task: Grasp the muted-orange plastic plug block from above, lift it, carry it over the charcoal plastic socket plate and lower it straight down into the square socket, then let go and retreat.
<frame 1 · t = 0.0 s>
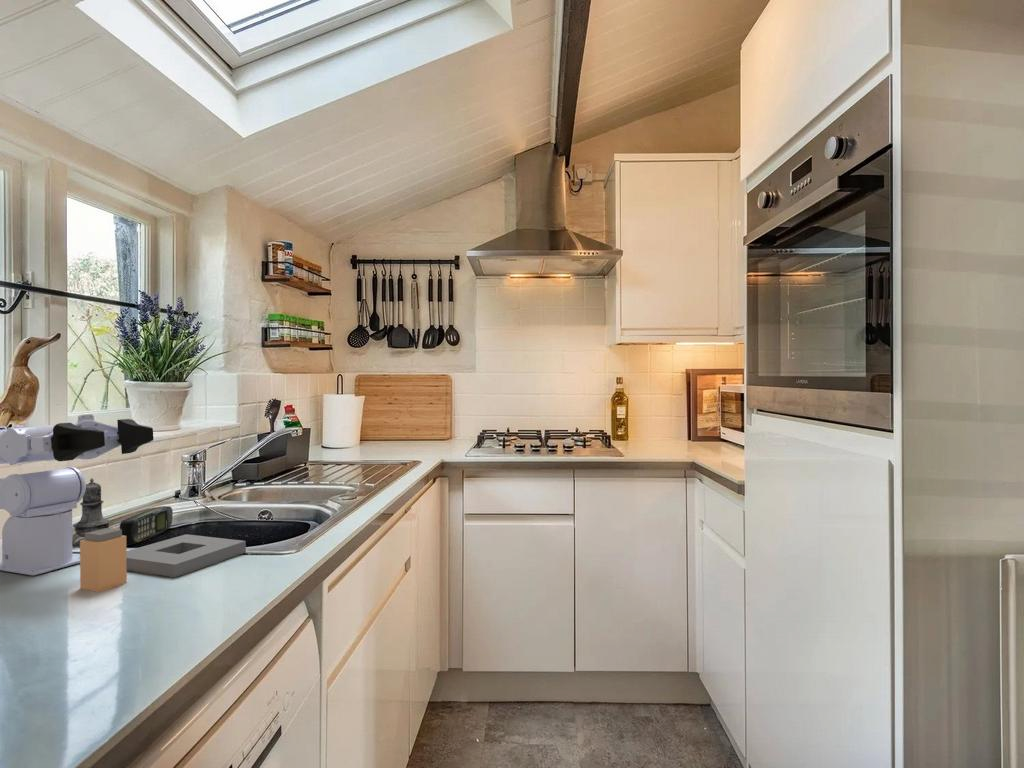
hand: (127, 436, 88), 22 cm above the counter, tool horizontal, fingers open, 7 cm apart
plug: (103, 585, 85), on the counter
salt shaker: (92, 542, 109), on the counter
mobile phone: (149, 536, 114), on the counter
socket plate: (181, 559, 98), on the counter
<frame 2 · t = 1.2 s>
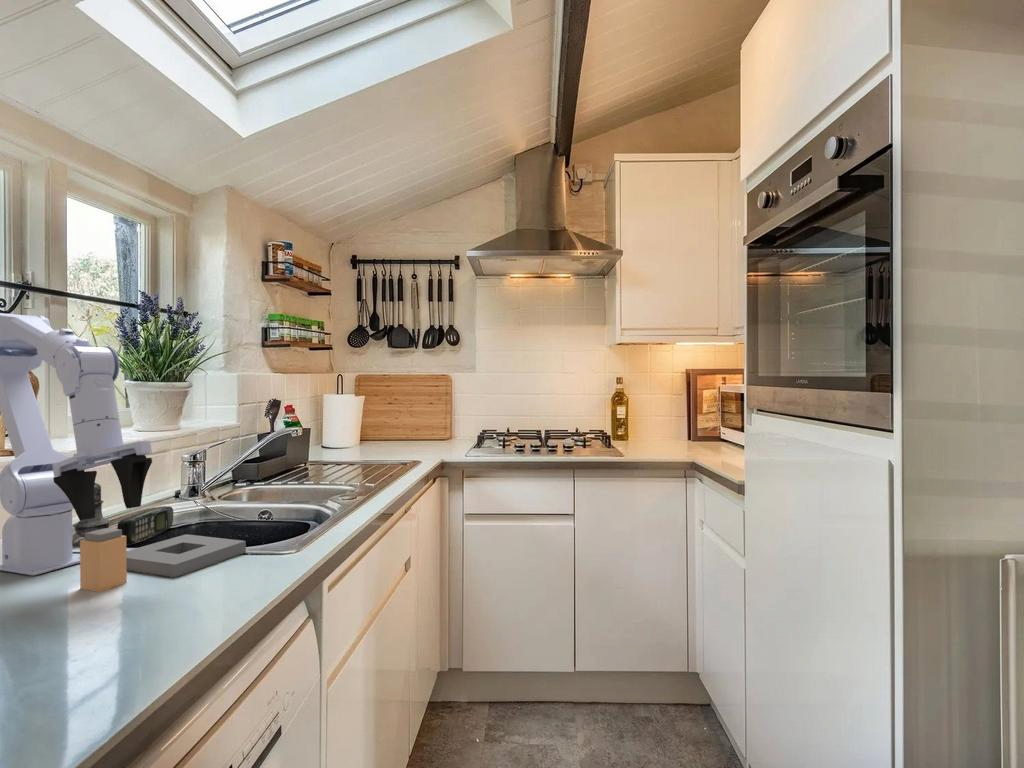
hand: (110, 513, 85), 11 cm above the counter, tool tilted 15°, fingers open, 7 cm apart
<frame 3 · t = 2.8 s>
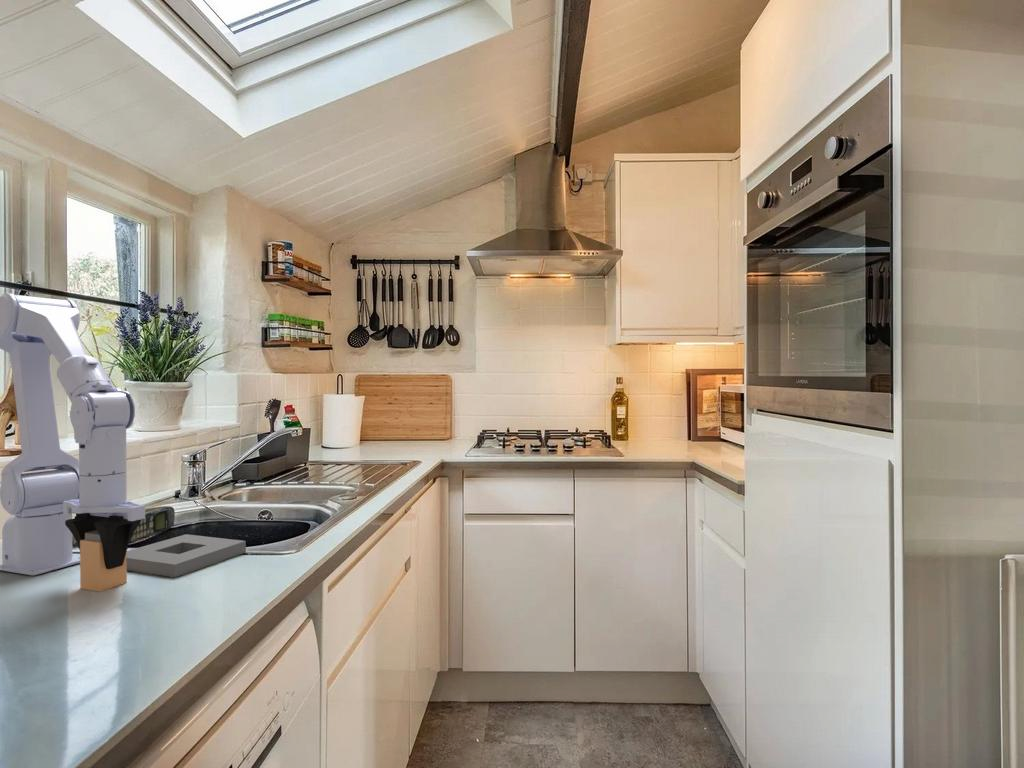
hand: (103, 565, 85), 3 cm above the counter, tool pointing down, fingers closed on plug, 4 cm apart
plug: (103, 585, 85), on the counter, touching gripper
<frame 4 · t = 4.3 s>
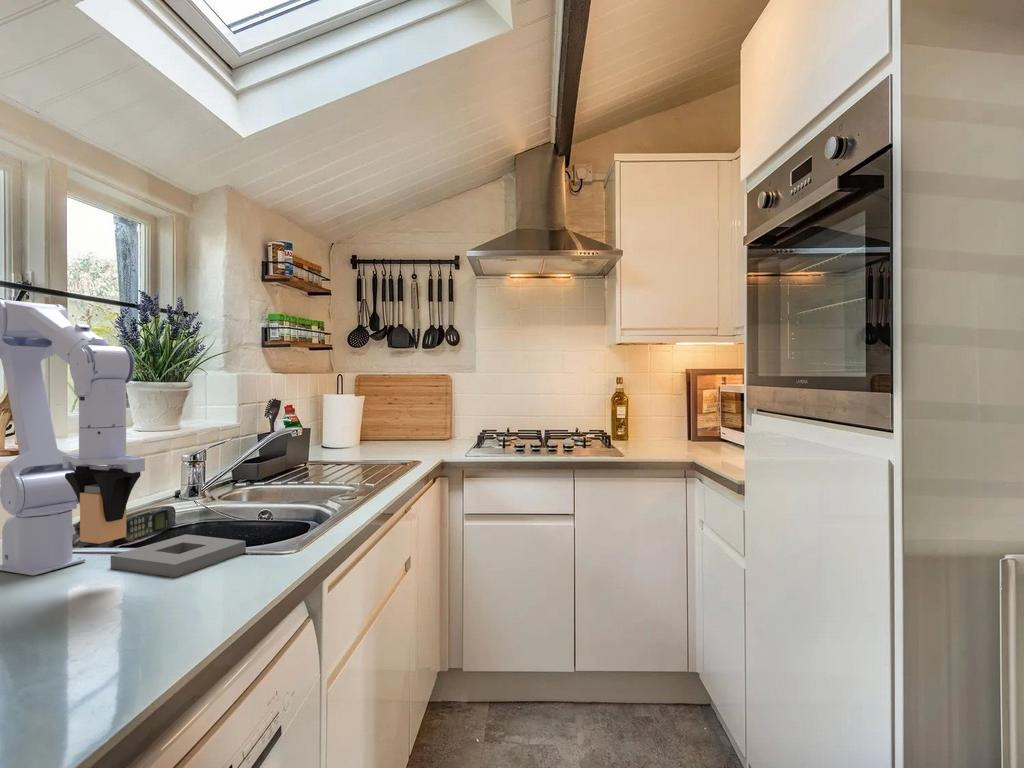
hand: (103, 519, 85), 10 cm above the counter, tool pointing down, fingers closed on plug, 4 cm apart
plug: (103, 539, 85), point 7 cm above the counter, touching gripper
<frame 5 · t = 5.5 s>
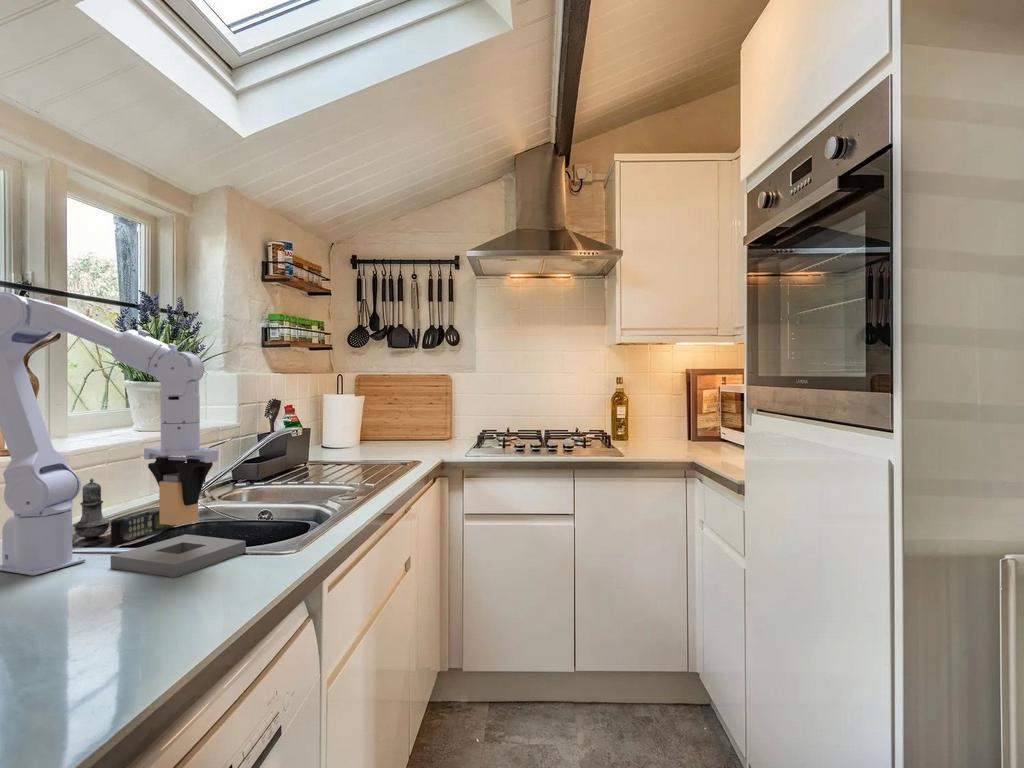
hand: (180, 503, 98), 9 cm above the counter, tool pointing down, fingers closed on plug, 4 cm apart
plug: (179, 521, 97), point 6 cm above the counter, touching gripper
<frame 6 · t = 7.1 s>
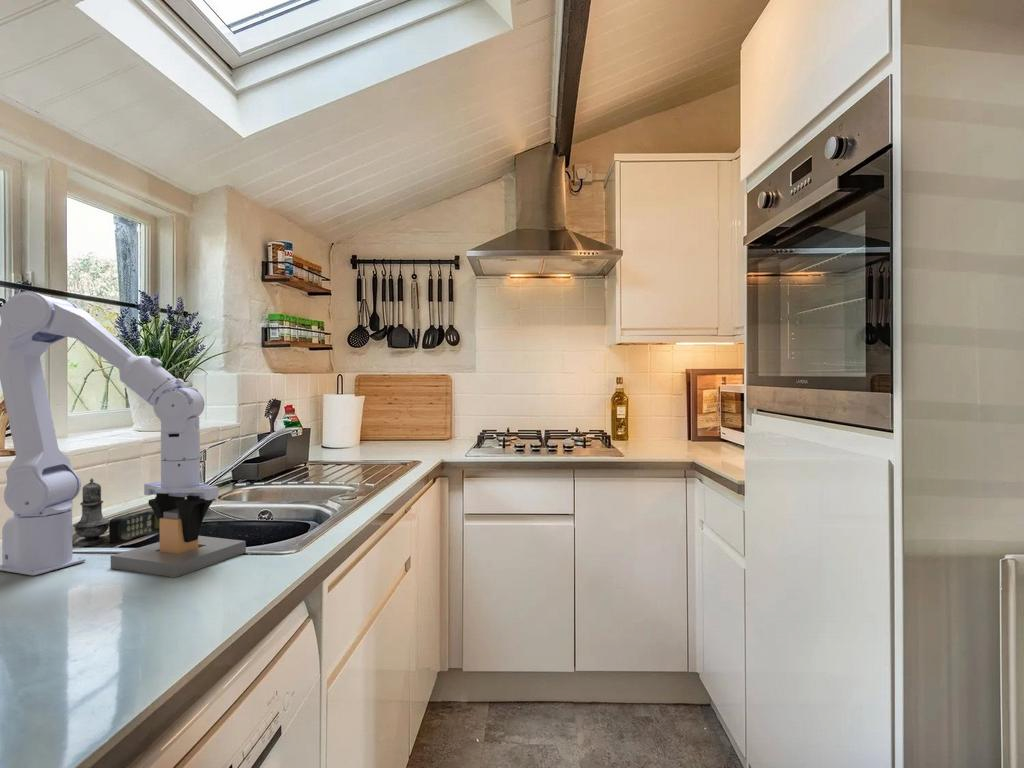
hand: (180, 539, 98), 3 cm above the counter, tool pointing down, fingers closed on plug, 4 cm apart
plug: (179, 558, 97), resting in socket plate, touching gripper
when the fingers open (3 cm above the counter, at t = 7.2 s): plug stays where it is, resting in socket plate.
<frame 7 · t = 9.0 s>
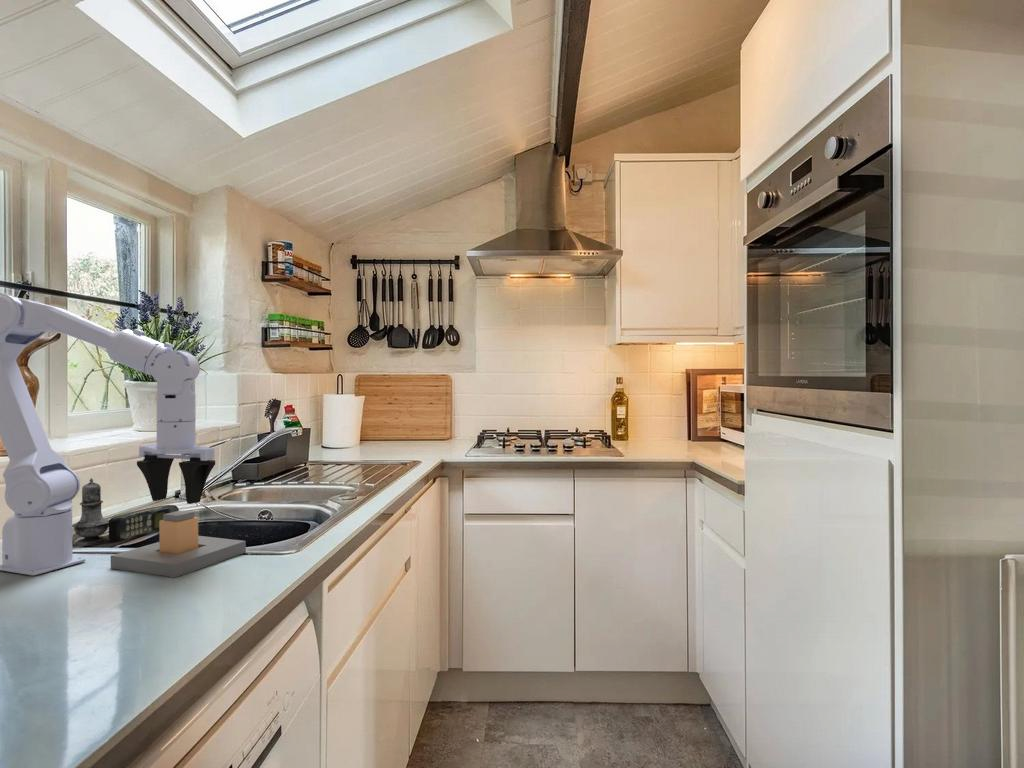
hand: (176, 501, 98), 10 cm above the counter, tool pointing down, fingers open, 7 cm apart
plug: (179, 560, 97), resting in socket plate
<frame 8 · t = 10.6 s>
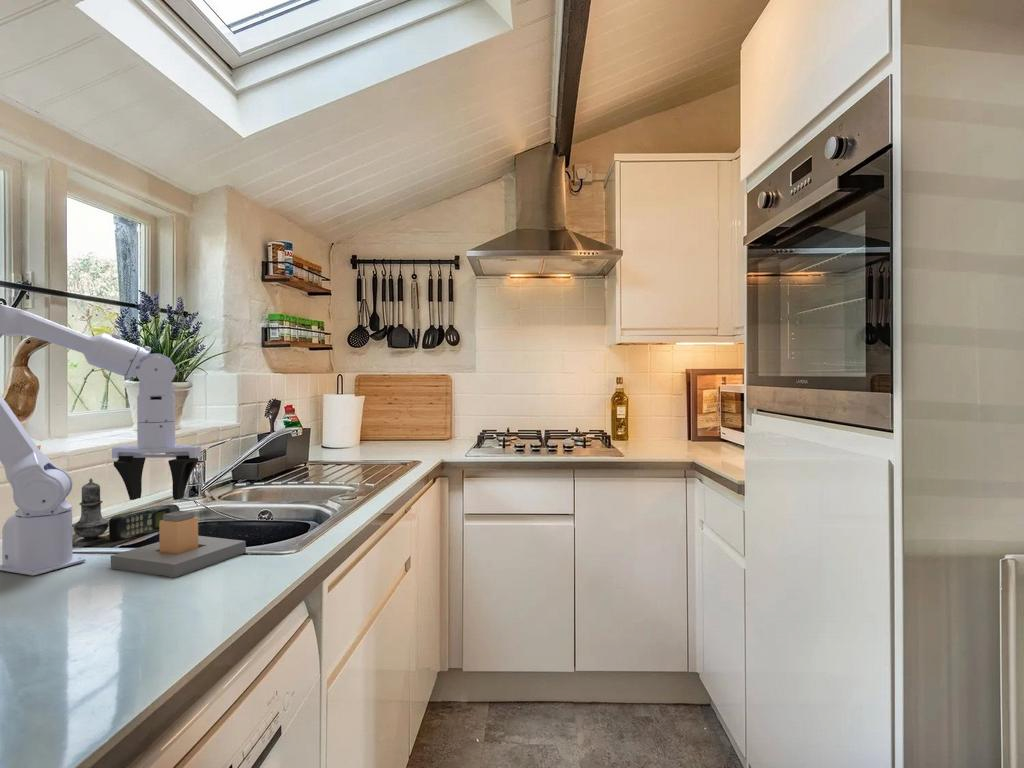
hand: (156, 498, 102), 9 cm above the counter, tool pointing down, fingers open, 7 cm apart
at the end: plug 0.3 cm off-centre on the socket plate, point 0.0 cm above the socket plate's base; plug tilted 0°; the gripper is holding nothing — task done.
